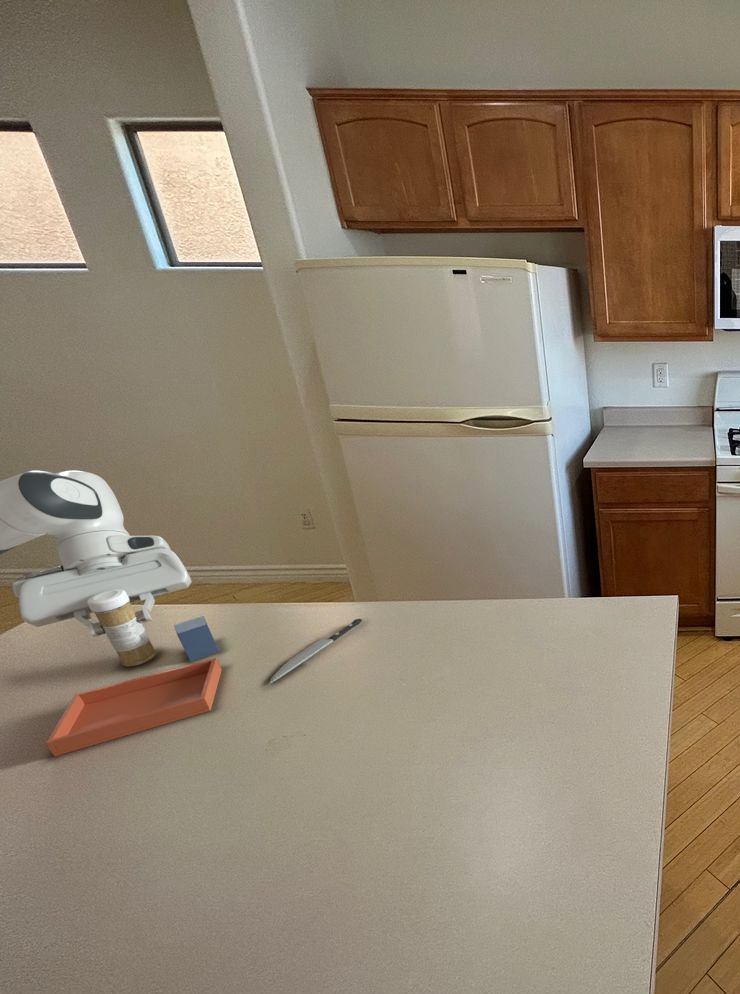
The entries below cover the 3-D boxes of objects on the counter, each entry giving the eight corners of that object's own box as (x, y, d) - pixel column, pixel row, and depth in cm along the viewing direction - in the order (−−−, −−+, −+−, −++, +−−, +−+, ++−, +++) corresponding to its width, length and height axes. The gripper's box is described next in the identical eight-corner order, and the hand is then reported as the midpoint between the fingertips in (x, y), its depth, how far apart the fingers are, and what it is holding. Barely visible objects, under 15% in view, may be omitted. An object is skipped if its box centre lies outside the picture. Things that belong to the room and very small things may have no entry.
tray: (54, 756, 79) (45, 743, 77) (82, 706, 87) (74, 694, 86) (210, 710, 87) (204, 698, 86) (222, 669, 96) (216, 657, 95)
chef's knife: (256, 683, 93) (269, 685, 92) (253, 677, 93) (266, 680, 92) (352, 620, 110) (364, 621, 109) (350, 615, 109) (362, 617, 108)
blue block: (190, 661, 98) (176, 634, 95) (187, 652, 100) (173, 624, 98) (219, 651, 100) (207, 624, 98) (215, 642, 103) (203, 615, 100)
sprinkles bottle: (135, 652, 100) (101, 589, 94) (164, 650, 100) (132, 587, 95) (115, 669, 96) (77, 603, 90) (145, 666, 96) (109, 601, 91)
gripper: (-1, 570, 88) (22, 648, 86) (172, 533, 101) (195, 600, 99) (18, 584, 93) (40, 657, 91) (180, 547, 106) (203, 611, 103)
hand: (122, 627), depth 95 cm, fingers closed on sprinkles bottle, 4 cm apart
